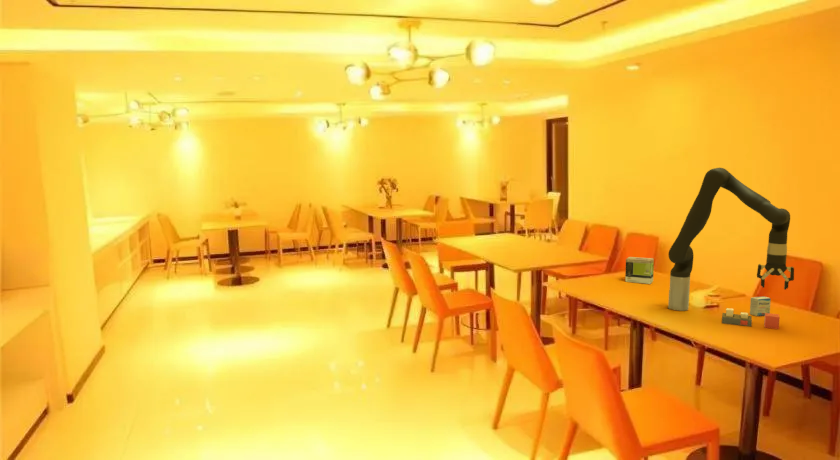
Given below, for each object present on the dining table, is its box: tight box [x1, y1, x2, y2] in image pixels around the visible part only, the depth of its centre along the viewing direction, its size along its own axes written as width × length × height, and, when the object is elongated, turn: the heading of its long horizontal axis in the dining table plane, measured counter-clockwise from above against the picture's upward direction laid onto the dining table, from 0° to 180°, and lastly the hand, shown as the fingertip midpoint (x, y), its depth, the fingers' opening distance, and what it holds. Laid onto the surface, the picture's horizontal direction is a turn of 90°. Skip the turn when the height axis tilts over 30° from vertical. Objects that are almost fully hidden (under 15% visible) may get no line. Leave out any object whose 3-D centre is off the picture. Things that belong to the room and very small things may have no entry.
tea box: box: [624, 256, 655, 285], centre depth 350 cm, size 15×10×15 cm, turn 58°
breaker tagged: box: [739, 311, 749, 319], centre depth 263 cm, size 3×3×4 cm
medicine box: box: [749, 296, 772, 317], centre depth 276 cm, size 8×4×9 cm, turn 105°
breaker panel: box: [721, 312, 753, 327], centre depth 264 cm, size 12×8×3 cm
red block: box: [763, 312, 780, 330], centre depth 257 cm, size 5×5×6 cm
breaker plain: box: [725, 307, 734, 317], centre depth 265 cm, size 3×3×4 cm
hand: (774, 288), depth 255 cm, fingers open, 8 cm apart
